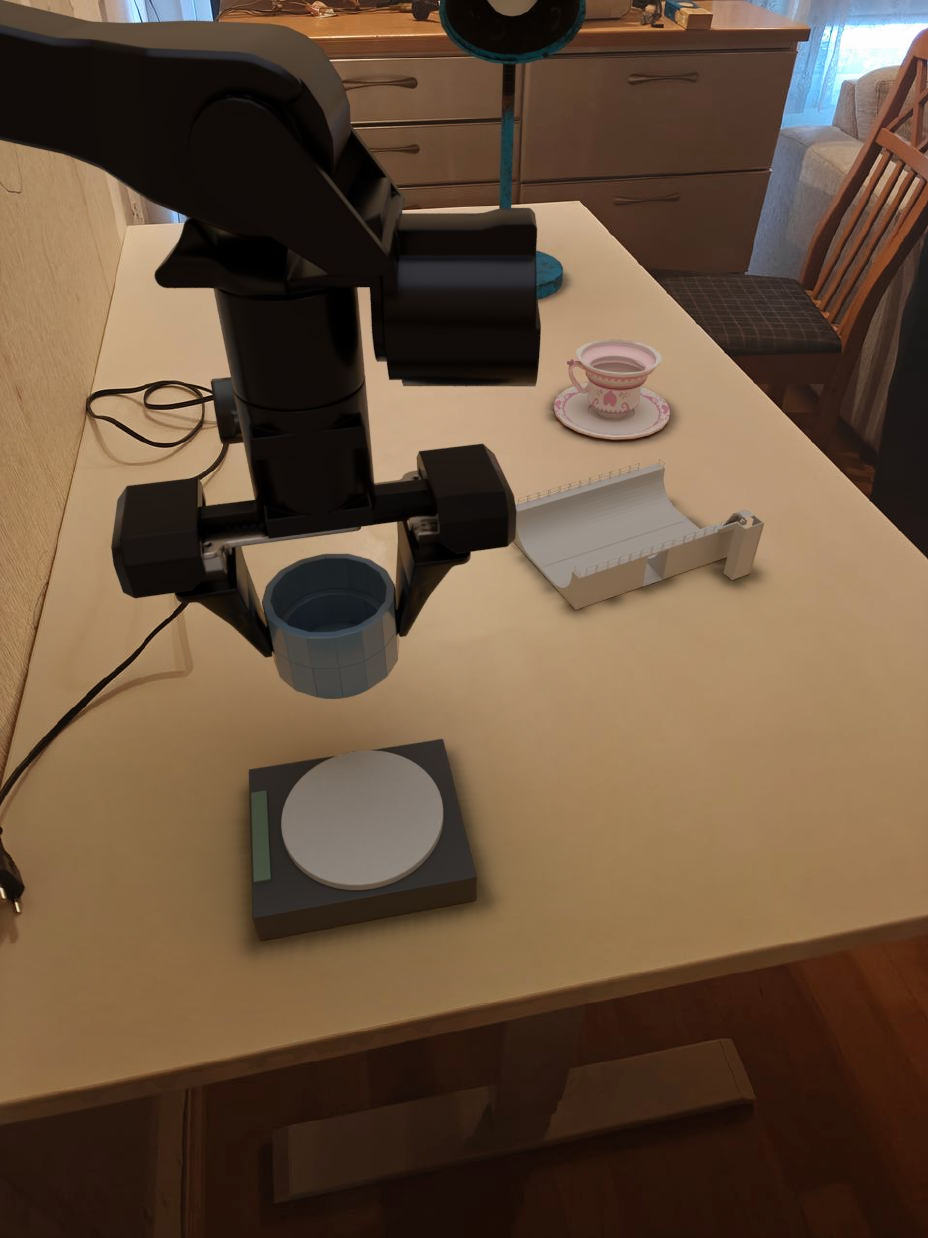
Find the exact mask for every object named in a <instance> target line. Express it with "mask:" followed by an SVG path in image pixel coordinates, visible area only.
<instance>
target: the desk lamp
mask: <svg viewBox="0 0 928 1238" xmlns="http://www.w3.org/2000/svg"><path fill="white" fill-rule="evenodd" d="M586 2H587V1H586V0H439V6H438V16H439V21H440V24H441V28H442V30H443V31H444V32H445V35H446V36H447V37H448V39H449V40H450V41H451V43H453V45H456V47H458V49H460V50H461V51H462V52H464V53H466V54H468V55H470V56H471V57H474V58H475V59H477V60H478V59H479V60H482V61H485V62H489V63H492V64H502V83H501V84H502V85H501V117H500V118H501V120H500V121H501V122H500V158H499V159H500V160H499V161H500V164H499V167H500V168H499V199H498V200H499V201H498V202H499V203H498V204H499V205H498V207H499V208H498V209H500V208H512V197H513V168H514V167H513V165H514V164H513V162H514V135H515V134H514V133H515V108H516V107H515V105H516V104H515V103H516V74H517V73H516V72H517V71H516V69H517V65H519V64H529V63H532V62H536V61H540V60H543V59H546V58H549V57H550V56H552V55H554V54H557V53H559V52H560V51H561V50H562V49H564V48H566V47H567V46H568V45H569V44H570V43H571V42H572V41H573V40H574V39H575V37H576V36H577V35H578V33H579V32H580V30H581V29H582V26H583V24H584V21H585V18H586V15H587V3H586ZM536 272H537V299H538V300H540V299H545V298H547V297H549V296H551V295H553V294H556V293H557V292H558V291H559V289H560V288H562V285H563V281H564V280H563V279H564V266H563V264H562V262H561V261H560V260H559V259H557V258H556V257H555V256H553V255H550V254H548V253H546V252H544V251H539V250H536Z"/></svg>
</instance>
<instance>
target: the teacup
mask: <svg viewBox="0 0 928 1238" xmlns="http://www.w3.org/2000/svg"><path fill="white" fill-rule="evenodd" d="M575 356H576V359H577V360H574V359H570V360H567V361H566V365H568V376H569V379H570V382H571V383H572V384H573V386H570V387H567V388H566V389H564V390H563V391H561V393H559V394H558V395H557V396H556V398H555V400H554V402H553V410H554V414H555V417H556V418H557V419H558V420H559V421H560V422H561V423H562V425H564V426H565V427H566V428H569V429H571V430H573V431H575V432H576V433H579V434H582V435H586V436H589V437H592V438H599V439H605V440H613V441H614V440H616V441H617V440H635V439H638V438H643V437H647V436H650V435H651V436H652V435H653V434H655V433H656V432H659V431H661V430H662V429H664V427H665V426H666V425H667V424H668V423H669V420H670V413H671V408H670V406H669V405H668V403H667V401H666V400H665V399H664V398H663V397H661V396H660V395H658V393H657V392H654V391H652V390H650V389H648V388H646V387H644V386H643V385H644V384H645V383H646V382H647V380H648V377H649V375H651V374H652V373H653V372H654V371H655V370H656V368H658V367H659V366H660V364H661V363H662V360H663V356H662V354H661V353H660V352H659V351H658V350H657V349H656V348H654V347H652V346H650V345H648V344H645V343H643V342H638V341H634V340H627V339H600V340H593V341H589V342H587V343H585V344H582V345H581V346H580V347H578V349H577V350H576V353H575ZM574 368H580V369H582V370H583V371H585V376H586V377H587V380H588V382H582V383H579V382H578V380H577V378H575V375H574V372H573V369H574Z"/></svg>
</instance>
